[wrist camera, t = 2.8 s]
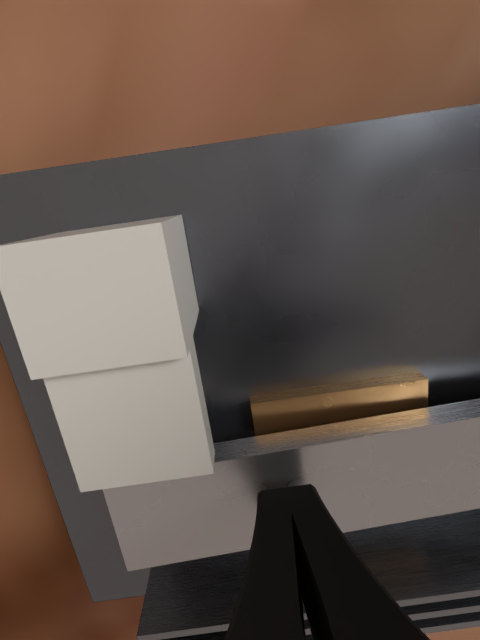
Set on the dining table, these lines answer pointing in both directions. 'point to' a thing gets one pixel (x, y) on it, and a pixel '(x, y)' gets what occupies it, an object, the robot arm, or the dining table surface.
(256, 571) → the robot arm
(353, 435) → the strap
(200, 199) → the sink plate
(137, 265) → the block
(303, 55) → the dining table surface
